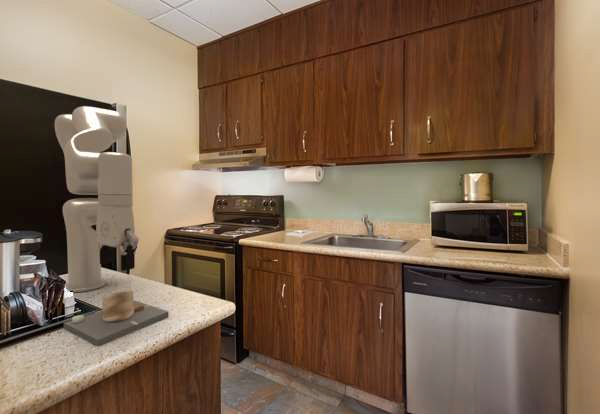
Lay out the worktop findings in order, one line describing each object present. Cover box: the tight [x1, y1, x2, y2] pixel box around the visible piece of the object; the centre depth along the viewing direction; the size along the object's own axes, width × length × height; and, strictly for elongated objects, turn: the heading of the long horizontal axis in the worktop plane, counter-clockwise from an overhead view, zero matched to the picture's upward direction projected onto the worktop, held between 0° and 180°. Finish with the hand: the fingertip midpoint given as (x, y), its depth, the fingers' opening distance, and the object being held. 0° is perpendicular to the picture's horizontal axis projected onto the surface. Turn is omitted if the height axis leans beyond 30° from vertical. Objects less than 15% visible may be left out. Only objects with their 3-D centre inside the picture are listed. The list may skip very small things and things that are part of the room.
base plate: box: [63, 299, 169, 347], centre depth 78 cm, size 16×18×3 cm
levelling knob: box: [101, 288, 144, 323], centre depth 79 cm, size 10×7×6 cm
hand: (116, 266), depth 77 cm, fingers open, 9 cm apart
